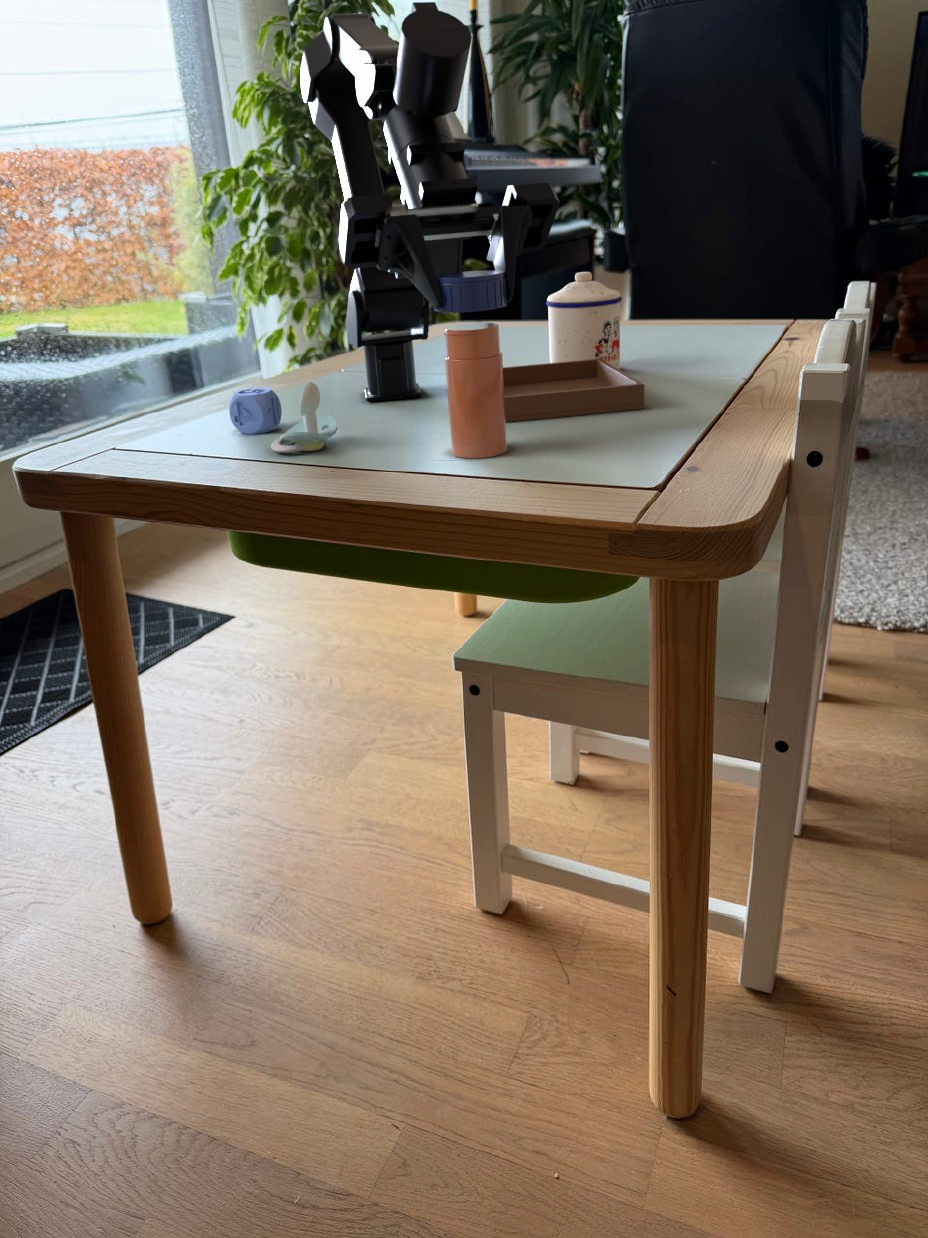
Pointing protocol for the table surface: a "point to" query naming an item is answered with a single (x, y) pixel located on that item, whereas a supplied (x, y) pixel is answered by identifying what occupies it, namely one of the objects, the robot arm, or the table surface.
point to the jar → (475, 390)
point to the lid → (472, 291)
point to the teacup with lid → (584, 322)
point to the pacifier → (307, 425)
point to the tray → (568, 390)
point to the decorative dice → (255, 410)
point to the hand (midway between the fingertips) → (475, 301)
